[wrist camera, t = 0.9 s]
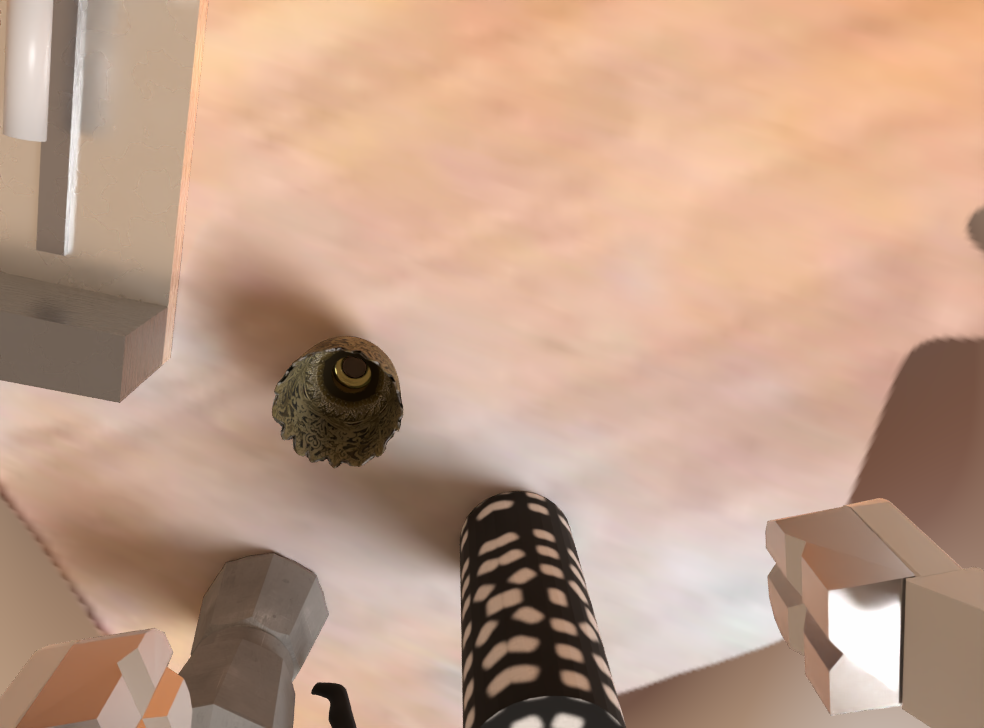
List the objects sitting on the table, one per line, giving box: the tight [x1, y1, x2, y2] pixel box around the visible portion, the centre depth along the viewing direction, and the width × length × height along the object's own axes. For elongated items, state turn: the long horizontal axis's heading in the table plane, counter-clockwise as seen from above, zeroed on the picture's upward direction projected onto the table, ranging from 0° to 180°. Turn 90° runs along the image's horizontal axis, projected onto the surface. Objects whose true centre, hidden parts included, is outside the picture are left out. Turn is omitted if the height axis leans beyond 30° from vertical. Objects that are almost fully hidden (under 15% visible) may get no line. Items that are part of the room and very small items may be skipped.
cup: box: [272, 336, 403, 468], centre depth 47 cm, size 8×7×8 cm
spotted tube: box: [460, 492, 626, 728], centre depth 46 cm, size 8×8×20 cm
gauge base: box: [0, 0, 209, 403], centre depth 41 cm, size 28×14×8 cm, turn 167°
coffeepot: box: [178, 553, 356, 728], centre depth 48 cm, size 15×9×18 cm, turn 78°
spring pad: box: [3, 0, 53, 142], centre depth 38 cm, size 11×12×6 cm
